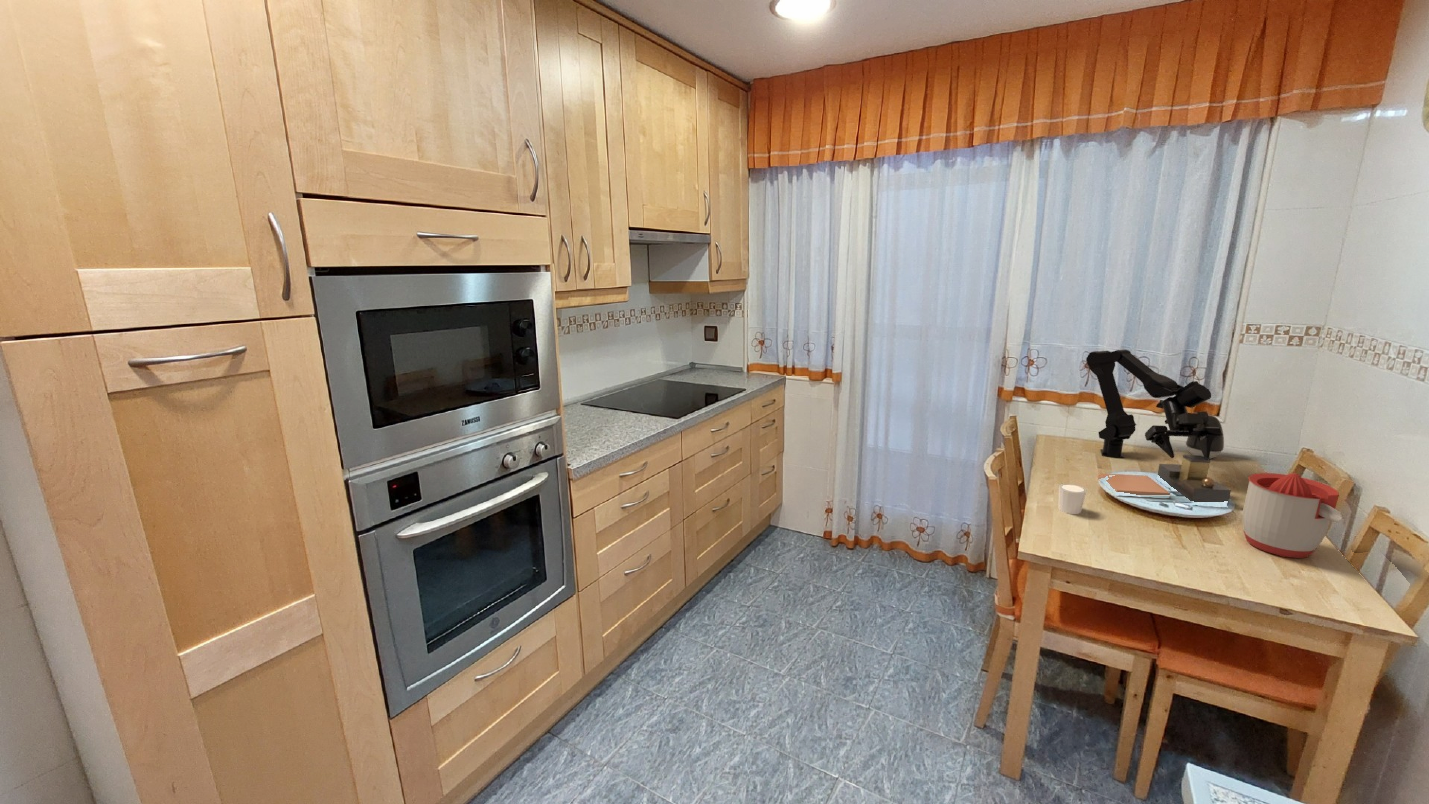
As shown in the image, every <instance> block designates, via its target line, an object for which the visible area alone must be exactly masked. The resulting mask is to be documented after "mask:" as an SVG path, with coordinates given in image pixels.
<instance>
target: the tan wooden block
mask: <svg viewBox="0 0 1429 804" xmlns="http://www.w3.org/2000/svg"><path fill="white" fill-rule="evenodd" d="M1210 464H1211V460H1210V459H1207V458H1205V457H1203V456H1197V455H1192V454H1183V455H1182V460H1181V464H1180V465H1181V471H1180V476H1179V480H1181V481H1182V480H1197V481H1202V479H1204V478H1208V473H1209V468H1210Z"/></svg>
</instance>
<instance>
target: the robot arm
mask: <svg viewBox="0 0 1429 804" xmlns="http://www.w3.org/2000/svg"><path fill="white" fill-rule="evenodd" d="M1085 359H1086V364H1087V366H1088V368H1089V370H1090V371H1091V372H1092V373H1093V375H1095V376H1096V377H1097V378H1096V379H1097V381H1098V384H1099V388H1100V390H1101V391H1100V392H1101V396H1102V398H1103V402H1104V405H1105V410H1106V412H1107V416H1106V419H1105V421H1104V422H1105V427H1104V428H1103V429H1101V430H1099V431H1098V433H1097V434H1098V437H1099V439H1101V440H1103V446H1102V449H1100V450H1099V451H1100V454H1101V456H1103V457H1109V458H1110V457H1111V458H1117V459H1118V458H1120V459H1124V454H1123V446H1124V441H1125V440H1130V438H1131V436H1132V435H1133V434H1134V433H1135V432H1136V429H1137V428H1136V426H1137V424H1136V422H1135V418H1134V415H1133V414H1132V413H1131V414H1128V413H1127V412H1126V411H1125V409H1124V406H1123V402H1122V399H1121V396H1120V393H1119V389H1118V386H1117V383H1116V378H1115V376H1114V371H1115V368H1116V363H1118V364H1119V365H1120V366H1122V368H1124V369H1125V370H1126V371H1128V372H1129V373H1130V374H1131V375H1132V376H1134V377H1135V378H1136V379H1138V380H1139V381H1140V382H1141V383H1142V386H1143V389H1144V390H1145V391H1146V392H1147V393H1148V394H1149V396H1151V397H1152V398H1155V399H1159V398H1160V399H1159V402H1158V403H1157V404H1156V405H1155V407H1156V408H1158V409H1163V412H1164V415H1165V420H1164V424H1166V425H1167V426H1168V427H1167V426H1166V425H1157V424H1156V425H1152V426H1150V427H1149V429H1147V431H1145V432H1144V437H1145V440H1146V441H1149V442H1151V443H1153V444H1155V445H1157V446H1158V447H1159V448H1160V449H1161V450H1162V451H1164V452H1165V453H1166V455H1168V456H1169V457H1170V458H1171V459H1174V458H1175V453H1174V452H1175V451H1174V450H1173V447H1172V443H1171V441H1170V439H1171V438H1170V437H1184V438H1185V437H1187V438H1188V437H1197V439H1198V440H1199V441H1200V442H1199V443H1198V444H1199V446H1200V449H1201V451H1202V453H1203V455H1204V457H1205V458H1207V459H1208V460H1210V458H1209V456H1210V450H1211V445H1212V442H1214V441H1216V440H1217V439H1218V438H1219V437H1220V436H1222V435H1224V432H1223V433H1222V430H1223V429H1222V430H1221V429H1220V428H1218V427H1204V428H1203V429H1202V430H1201V431H1194V430H1193V429H1194V428H1197V427H1198V426H1197V425H1198V424H1203V422H1208V421H1209V413H1208V411H1202V410H1201V411H1198V412H1195V413H1194V412H1193V413H1192V412H1189V411H1188V409H1187V408H1191V409H1192V408H1195V407H1196V406H1198V405H1200V404H1202V403H1204V402H1206V401H1208V400H1210V399H1211V398H1212V393H1211V391H1210V389H1209V388H1207V387H1206V386H1204V385H1202V383H1199V381H1197V380H1193V381H1191V382H1189V383H1187V384H1186V385H1184V386H1183V385H1180V384H1178V382H1177V381H1175V380H1174V379H1172V378H1170V377H1168V376H1166V375H1163V374H1161V373H1158V372H1156V371H1154V370H1153V369H1152V368H1151V367H1149V366H1148V365H1147V364H1145V363H1144V362H1142V361H1141V360H1140V359H1139V358H1137V357H1136V356H1135V355H1133V354H1132V352H1131V350H1129V349H1116V350H1114V351H1109V350H1099V351H1098V350H1097V351H1091V352H1089V354H1087V357H1086V358H1085ZM1161 398H1165V399H1161Z"/></svg>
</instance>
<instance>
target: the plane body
mask: <svg viewBox="0 0 1429 804" xmlns="http://www.w3.org/2000/svg"><path fill="white" fill-rule="evenodd" d="M1181 465H1182V464H1173V463H1159V465H1158V469H1157V475H1159V476H1160V478H1162V479H1163V480H1164V481H1166V482H1167V483H1168V484H1169V485H1170V486H1171V487H1173V488H1174V489H1176V490H1177V491H1178V492H1180V493H1181V494H1182V495H1184V496H1185V497H1186V498H1188V499H1189V500H1190V501H1194V502H1224V501H1228V503H1229V501H1230V497H1231V492H1232V489H1230V488H1229V487H1227V486H1225V485H1224V484H1223V483H1220V482H1219V481H1215V480H1214V479H1213V478H1211V477H1207V478H1204V479H1202V481H1197V480H1182V481H1181V480H1179V476H1180V471H1181Z"/></svg>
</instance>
